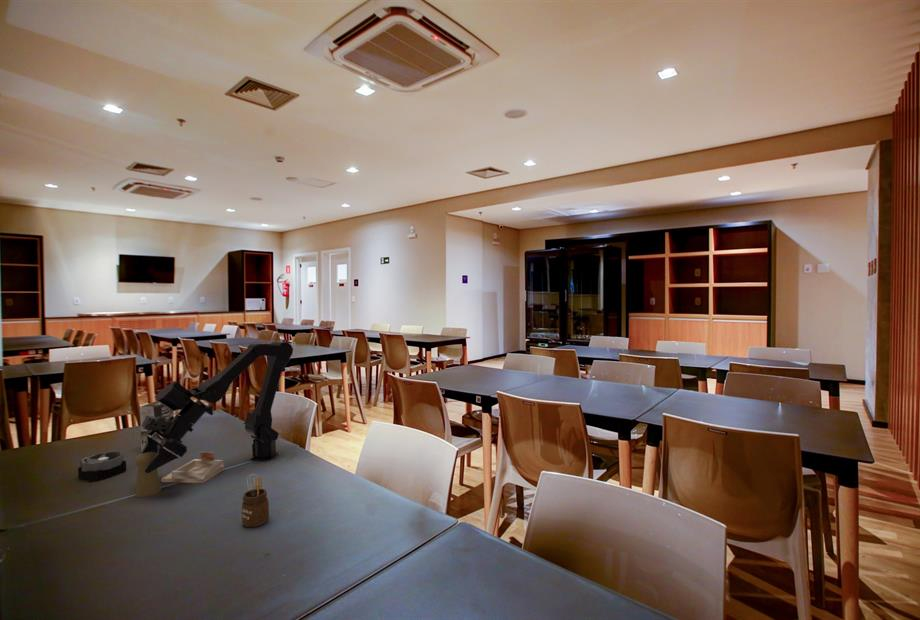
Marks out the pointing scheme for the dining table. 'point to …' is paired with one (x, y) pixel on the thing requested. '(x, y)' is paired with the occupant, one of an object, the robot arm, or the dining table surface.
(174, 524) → the dining table surface
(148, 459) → the cork
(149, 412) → the coffee box
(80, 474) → the cpu cooler
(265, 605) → the dining table surface
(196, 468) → the wooden box
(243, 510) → the utensil holder
